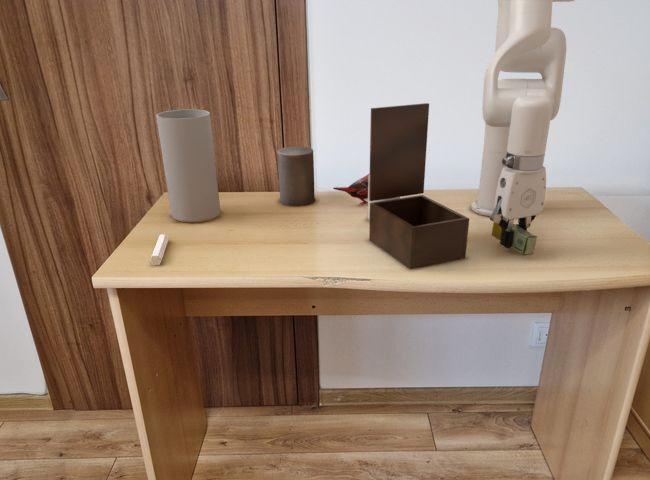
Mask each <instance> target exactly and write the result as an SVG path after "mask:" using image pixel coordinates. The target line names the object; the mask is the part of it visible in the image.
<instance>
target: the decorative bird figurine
mask: <svg viewBox="0 0 650 480" xmlns="http://www.w3.org/2000/svg"><path fill="white" fill-rule="evenodd" d="M369 174H370V172H369V173H368V174H366V175H365V176H363V177H361V178H359V179H357V180H356V181H354V182H353V183H351V184H350V185H349V186H346V187H345V186H344V187H343V186H340V187H339V186H338V187H333V188H332V189H333V190H335V191H340V192H345V193H347V194H348V195H349V196H351V197H352V198H356V199H358V200H360V201H361V202H360V203H359V206H360V205H362V206H363V205H368V180H369Z"/></svg>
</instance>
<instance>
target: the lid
mask: <svg viewBox="0 0 650 480" xmlns="http://www.w3.org/2000/svg"><path fill="white" fill-rule="evenodd" d="M429 112H430V103H428V102H426V103H425V102H423V103H413V104H404V105H391V106H381V107H371V108H370V133H369V134H370V135H369V173H370V183H369V200H370V201H375V200H382V199H389V198H396V197H400V198H403V197H410V196H417V195H423V194H424V192H425V177H426V163H427V147H428V145H427V144H428V130H429V129H428V128H429V115H430V113H429Z"/></svg>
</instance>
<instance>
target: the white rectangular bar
mask: <svg viewBox="0 0 650 480" xmlns="http://www.w3.org/2000/svg"><path fill="white" fill-rule="evenodd" d="M168 242H169V237H168V235H167V234H163V233H162V234H159V236H158V238H157V241H156V244H155V245H154V249H153V252H152V254H151V256H150V259H149V262H150V263H151V264H152V265H153V266H160V265H161V264H162V263H161V262H162V260H163V258H164V255H165V251H166V249H167V246H168Z"/></svg>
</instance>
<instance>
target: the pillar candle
mask: <svg viewBox="0 0 650 480" xmlns="http://www.w3.org/2000/svg"><path fill="white" fill-rule="evenodd" d="M276 154H277V169H278V187H279V189H278V190H279V199H280V203H281V204H282V205H284V206H287V207H305V206H309V205H313V204H314V203H315V202H316V198H315V196H316V195H315V191H316V189H315V164H314V162H315V161H314V159H315V158H314V150H313V148H311V147H308V146H297V145H294V146H288V147H287V146H286V147H282V148H280V149H278V150H276Z"/></svg>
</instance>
